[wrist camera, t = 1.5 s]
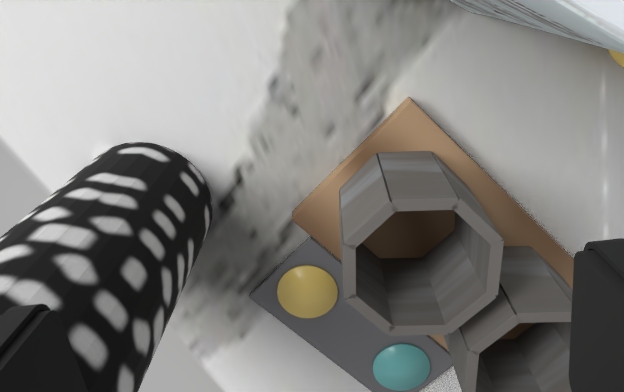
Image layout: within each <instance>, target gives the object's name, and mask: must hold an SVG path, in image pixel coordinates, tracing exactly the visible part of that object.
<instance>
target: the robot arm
mask: <svg viewBox="0 0 624 392" xmlns="http://www.w3.org/2000/svg"><path fill="white" fill-rule="evenodd" d="M569 383H570V387H571V391H572V392H624V239H612V240H603V241H594V242H588V243H587V244H586V245H585V247H584V251H580V252H577V253H576V254H575V257H574V269H573V291H572V312H571V334H570V355H569ZM0 392H88V390H87V388H86V385H85V382H84V380H83V377H82V374H81V371H80V369H79V366H78V363H77V361H76V358H75V355H74V352H73V350H72V347H71V344H70V342H69V339H68V336H67V334H66V331H65V328H64V325H63V323H62V320H61V317H60V315H59V314H58V313H57V312H56V311H54V310H50V308H49V307H48V306H47V305H45V304H34V305H25V306H16V307H11V308H9V309H8V310H7V311H6V312H5V313H4V314H3V315H2V316H1V317H0Z"/></svg>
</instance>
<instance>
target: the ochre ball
mask: <svg viewBox="0 0 624 392" xmlns="http://www.w3.org/2000/svg"><path fill="white" fill-rule="evenodd" d="M608 51H609V53H610V55H611V56H612V58H613V59H614V60H615V61H616V62H617V63H618V64H619V65H621V66H622V67H623V68H624V53H621V52H617V51H613V50H610V49H608Z"/></svg>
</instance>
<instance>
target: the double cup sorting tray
mask: <svg viewBox="0 0 624 392" xmlns="http://www.w3.org/2000/svg"><path fill="white" fill-rule="evenodd" d="M292 220H293V221H294V222H295V223H296V224H298V225H299V226H300V227H301V228H302V229H303V230H305V231H306V232H307V233H308V234H309V235H311V236H312V237H313V238H314V239H315V240H317V241H318V242H319V243H320V244H321V245H323V246H324V247H325V248H326V249H327V250H329V251H330V252H331V253H332V254H333V255H335V256H336V257H337V258H338V259H339V260H340V261H342V277H343V293H344V299H345V301H346V302H347V303H348V304H350V305H351V306H352V307H353V308H354V309H356V310H357V311H358V312H359V313H361V314H362V315H363V316H364V317H365V318H367V319H368V320H369V321H370V322H372V323H373V324H374V325H375V326H377V327H378V328H379V329H380V330H381V331H383V332H384V333H385V334H386V335H388V334H389V336H404V335H430V336H431V337H432V338H434V339H435V340H436V341H437V342H438V343H440V344H441V345H442V346H443V347H444V348H446V349H447V350H448V351H449V353H450V356H451V359H452V362H453V365H454V368H455V371H456V375H457V378H458V381H459V384H460V387H461V390H462V392H572V391H571V387H570V383H569V355H570V334H571V312H572V291H573V269H574V259H573V258H572V257H571V256H570V255H569V254H568V253H567V252H566V251H565V250H564V249H563V248H562V247H561V246H560V245H559V244H558V243H557V242H556V241H555V240H554V239H553V238H552V237H551V236H550V235H549V234H548V233H547V232H546V231H545V230H544V229H543V228H542V227H541V226H540V225H539V224H538V223H537V222H535V221H534V220H533V219H532V218H531V217H530V216H529V215H528V214H527V213H526V212H525V211H524V210H523V209H522V208H521V207H520V206H519V205H518V204H517V203H516V202H515V201H514V200H513V199H512V198H511V197H510V196H509V195H508V194H507V193H506V192H505V191H504V190H503V189H502V188H501V187H500V186H499V185H498V184H497V183H496V182H495V181H494V180H493V179H492V178H491V177H490V176H489V175H488V174H487V173H486V172H485V171H484V170H483V169H482V168H481V167H480V166H479V165H478V164H477V163H476V162H475V161H474V160H473V159H472V158H471V157H470V156H468V155H467V154H466V153H465V152H464V151H463V150H462V149H461V148H460V147H459V146H458V145H457V144H456V143H455V142H454V141H453V140H452V139H451V138H450V137H449V136H448V135H447V134H446V133H445V132H444V131H443V130H442V129H441V128H440V127H439V126H438V125H437V124H436V123H435V122H434V121H433V120H432V119H431V118H430V117H429V116H428V115H427V114H426V113H425V112H424V111H423V110H422V109H421V108H420V107H419V106H418V105H417V104H416V103H415V102H414V101H413V100H412V99H411V98H410V97H408V98H407V99H406V100H405V101H404V102H403V103H402V104H401V105H400V106H399V107H398V108H397V109H396V110H395V111H394V112H393V113H392V114H391V115H390V116H389V117H388V118H387V119H386V120H385V121H384V122H383V123H382V124H381V125H380V126H379V127H378V128H376V129H375V130H374V131H373V132H372V133H371V134H370V135H369V136H368V137H367V138H366V139H365V140H364V141H363V142H362V143H361V144H360V145H359V146H358V147H357V148H356V149H355V150H354V151H353V152H352V153H351V154H350V155H349V156H348V157H347V158H346V159H345V160H344V161H343V162H342V163H341V164H340V165H339V166H338V167H337V168H336V169H335V170H334V171H333V172H332V173H331V174H330V175H329V176H328V177H327V178H326V179H325V180H324V181H323V182H322V183H321V184H320V185H319V186H318V187H317V188H316V189H315V190H314V191H313V192H312V193H311V194H310V195H309V196H308V197H307V198H306V199H305V200H304V201H303V202H302V203H301V204H300V205H299V206H298V207H297V208H296V209H295V210H294V211H293V213H292Z"/></svg>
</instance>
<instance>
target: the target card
mask: <svg viewBox="0 0 624 392" xmlns="http://www.w3.org/2000/svg"><path fill="white" fill-rule="evenodd" d="M250 298H251V299H253V300H254V301H255V302H256V303H258V304H259V305H260V306H262V307H263V308H264V309H266V310H267V311H268V312H269V313H271V314H272V315H273V316H275V317H276V318H277V319H279V320H280V321H281V322H282V323H284V324H285V325H286V326H288V327H289V328H290V329H292V330H293V331H294V332H295V333H297V334H298V335H299V336H301V337H302V338H303V339H305V340H306V341H307V342H308V343H310V344H311V345H312V346H314V347H315V348H316V349H317V350H319V351H320V352H321V353H323V354H324V355H325V356H327V357H328V358H329V359H330V360H332V361H333V362H334V363H336V364H337V365H338V366H340V367H341V368H342V369H343V370H345V371H346V372H347V373H349V374H350V375H351V376H353V377H354V378H355V379H356V380H358V381H359V382H360V383H362V384H363V385H364V386H366V387H367V388H368V389H369V390H371V391H372V392H418V391H419V390H421V389H422V388H423V387H424V386H426V385H427V384H428V383H430V382H431V381H432V380H434V379H435V378H436V377H438V376H439V375H440V374H441V373H443V372H444V371H445V370H447V369H448V368H449V367H451V366H452V365H453V362H452V359H451V356H450V353H449V352H448V351H447V350H446V349H445V348H444V347H442V346H441V345H440V344H439V343H438V342H436V341H435V340H434V339H433V338H432V337H430V336H429V335H404V336H389V334H388V335H386V334H385V333H384V332H383V331H381V330H380V329H379V328H378V327H377V326H375V325H374V324H373V323H372V322H370V321H369V320H368V319H367V318H365V317H364V316H363V315H362V314H361V313H359V312H358V311H357V310H356V309H354V308H353V307H352V306H351V305H350V304H348V303H347V302H346V301H345V299H344V293H343V277H342V262H341V261H340V260H338V259H337V258H336V257H335V256H334V255H332V254H331V253H330V252H329V251H328V250H326V249H325V248H324V247H323V246H322V245H321V244H319V243H318V242H317V241H316V240H315V239H313V238H312V237H311V236H310V237H309V238H308V239H307V240H306V241H305V242H304V243H303V244H302V245H301V246H300V247H299V248H298V249H297V250H296V251H295V252H294V253H292V254H291V255H290V256H289V257H288V258H287V259H286V260H285V261H284V262H283V263H282V264H281V265H280V266H279V267H278V268H277V269H276V270H275V271H274V272H273V273H272V274H271V275H269V276H268V277H267V278H266V279H265V280H264V281H263V282H262V283H261V284H260V285H259V286H258V287H257V288H256V289H255V290H254V291H253V292H252V293H251V294H250Z"/></svg>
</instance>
